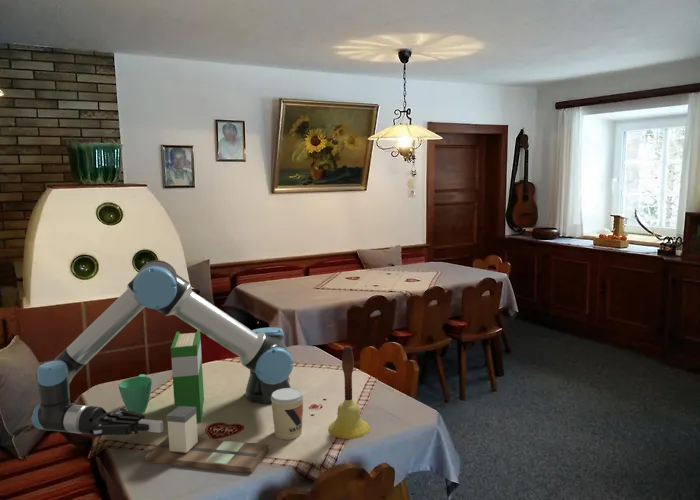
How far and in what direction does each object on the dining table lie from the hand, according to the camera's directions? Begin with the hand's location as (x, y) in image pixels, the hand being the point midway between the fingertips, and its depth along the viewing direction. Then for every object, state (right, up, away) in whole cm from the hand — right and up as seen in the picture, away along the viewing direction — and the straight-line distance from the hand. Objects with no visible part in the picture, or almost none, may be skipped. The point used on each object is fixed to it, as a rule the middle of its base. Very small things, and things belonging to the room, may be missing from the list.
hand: (161, 426), depth 147 cm
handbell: (+51, -5, +12) cm, 53 cm away
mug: (-17, -4, +28) cm, 33 cm away
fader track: (+13, -7, -2) cm, 15 cm away
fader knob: (+6, -5, -1) cm, 8 cm away
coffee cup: (+33, -5, +10) cm, 35 cm away
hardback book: (0, -4, +26) cm, 26 cm away
